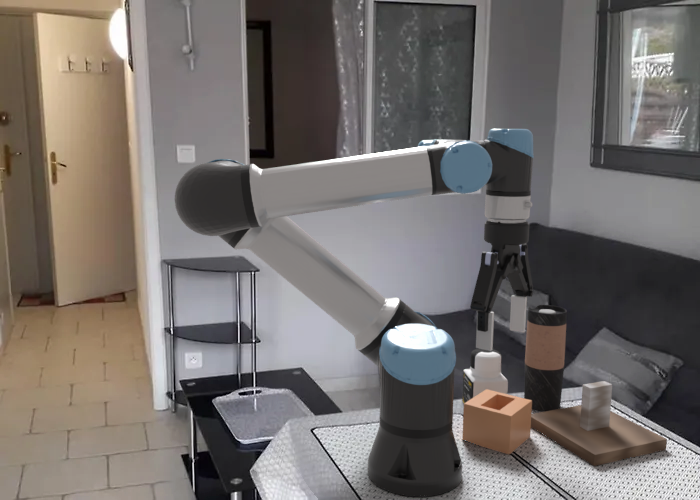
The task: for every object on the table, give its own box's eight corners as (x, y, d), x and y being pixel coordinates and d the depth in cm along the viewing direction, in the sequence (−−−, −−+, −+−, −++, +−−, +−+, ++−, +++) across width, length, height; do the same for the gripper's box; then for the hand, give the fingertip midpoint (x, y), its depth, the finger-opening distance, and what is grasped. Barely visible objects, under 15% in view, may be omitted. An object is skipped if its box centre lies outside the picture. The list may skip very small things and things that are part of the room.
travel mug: (563, 413, 138) (569, 315, 135) (523, 410, 140) (528, 312, 137) (559, 399, 146) (565, 305, 143) (522, 396, 147) (526, 303, 144)
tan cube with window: (509, 454, 121) (511, 416, 119) (462, 440, 126) (463, 403, 125) (530, 436, 128) (532, 400, 127) (484, 424, 133) (486, 389, 132)
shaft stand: (594, 466, 117) (598, 409, 115) (527, 424, 133) (529, 374, 131) (665, 449, 123) (670, 395, 121) (593, 412, 139) (596, 363, 138)
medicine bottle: (461, 401, 144) (463, 345, 142) (495, 400, 145) (498, 344, 143) (471, 415, 137) (473, 356, 135) (506, 414, 138) (509, 355, 136)
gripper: (495, 229, 108) (489, 361, 112) (555, 215, 128) (548, 327, 131) (452, 225, 113) (447, 352, 116) (516, 211, 132) (511, 321, 136)
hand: (501, 339), depth 124 cm, fingers open, 13 cm apart
